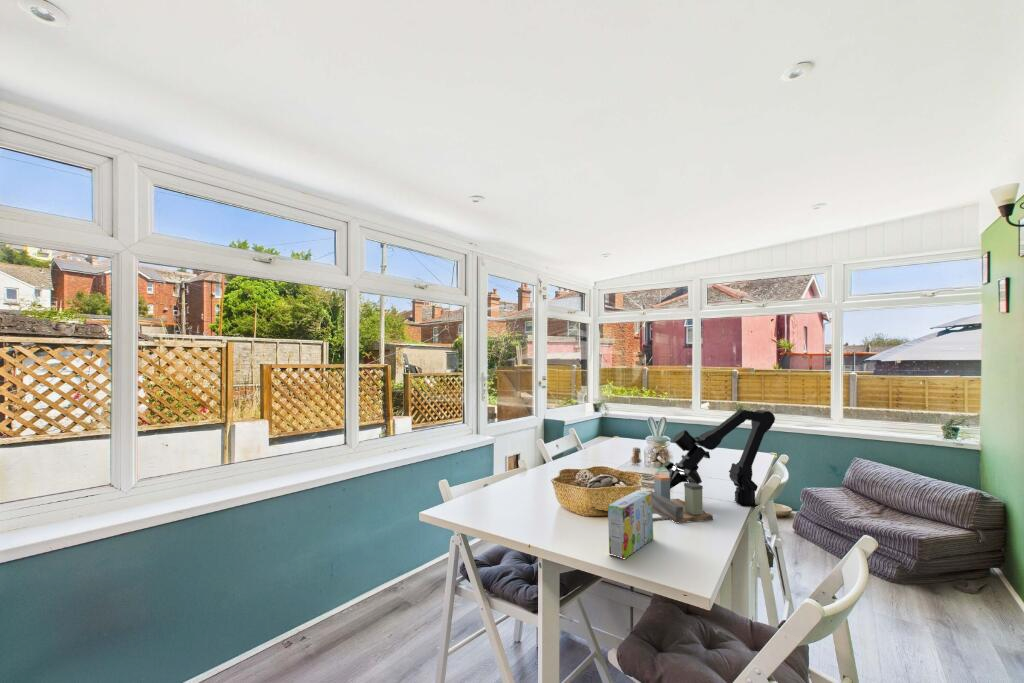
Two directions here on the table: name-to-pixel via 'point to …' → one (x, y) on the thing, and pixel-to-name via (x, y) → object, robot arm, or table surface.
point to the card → (658, 515)
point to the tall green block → (693, 498)
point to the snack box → (630, 523)
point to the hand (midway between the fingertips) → (668, 488)
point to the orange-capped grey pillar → (662, 485)
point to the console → (675, 509)
